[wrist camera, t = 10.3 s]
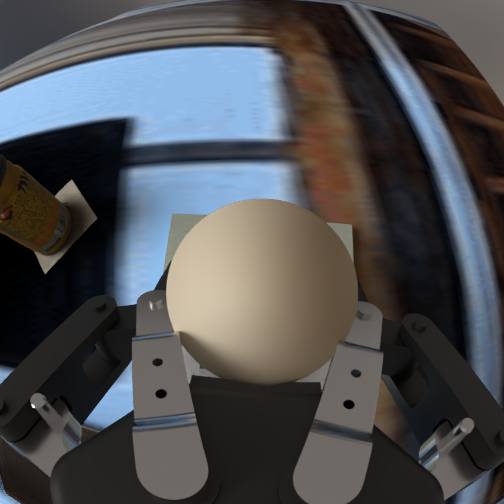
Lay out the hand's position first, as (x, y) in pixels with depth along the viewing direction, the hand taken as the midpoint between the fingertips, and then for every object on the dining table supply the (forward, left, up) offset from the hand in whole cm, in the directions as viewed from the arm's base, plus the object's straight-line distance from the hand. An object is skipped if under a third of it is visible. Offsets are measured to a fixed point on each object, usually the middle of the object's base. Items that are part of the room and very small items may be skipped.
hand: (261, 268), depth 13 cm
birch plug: (0, -2, -5) cm, 5 cm away
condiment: (-22, +6, -12) cm, 26 cm away
